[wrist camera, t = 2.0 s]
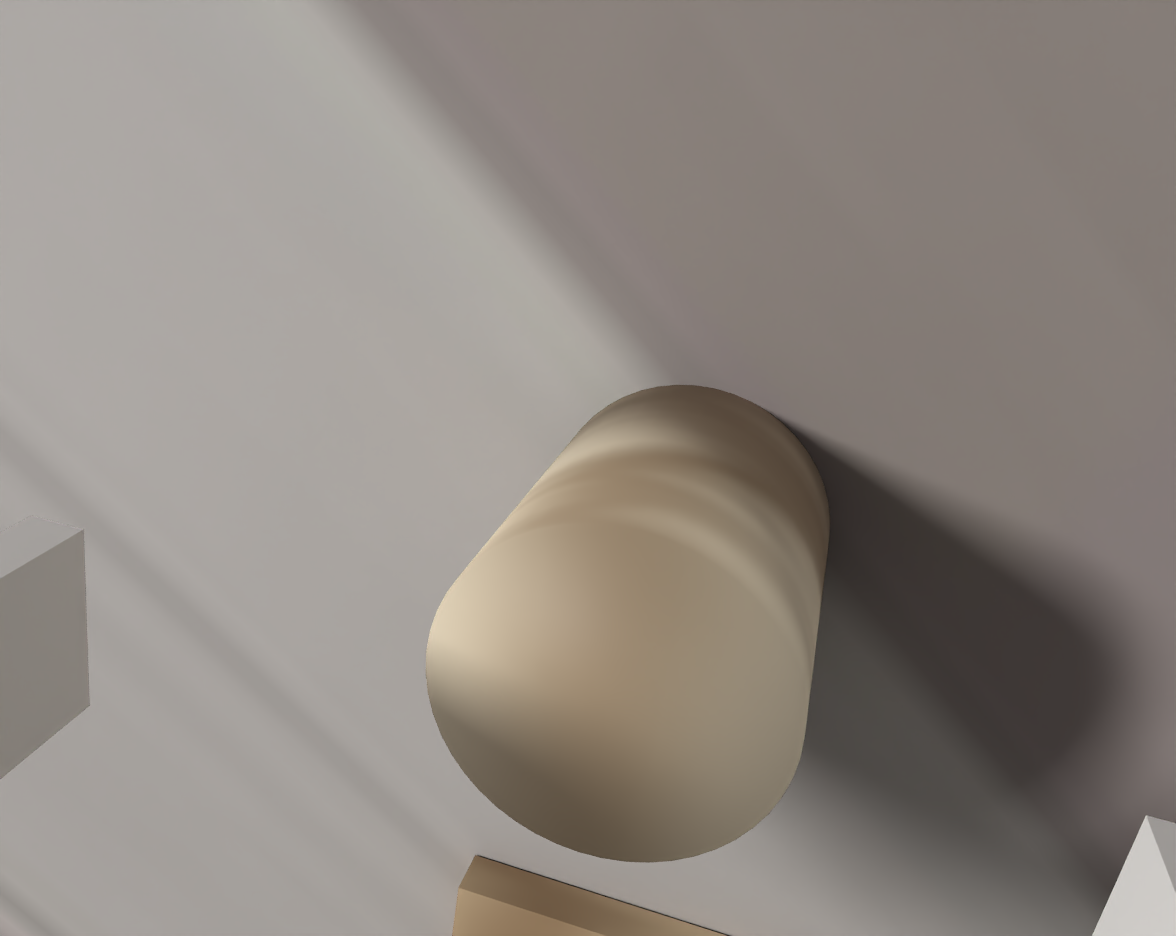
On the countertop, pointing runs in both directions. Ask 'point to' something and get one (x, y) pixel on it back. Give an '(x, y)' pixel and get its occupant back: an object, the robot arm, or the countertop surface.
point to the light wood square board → (549, 908)
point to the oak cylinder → (642, 631)
